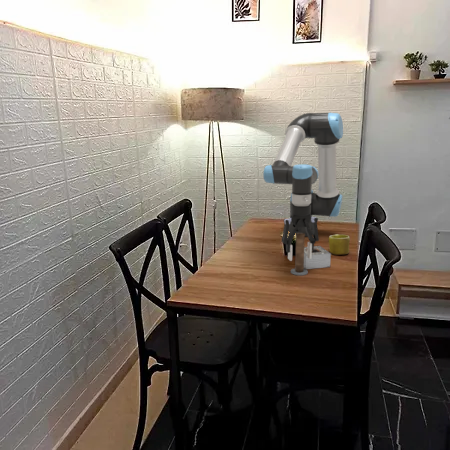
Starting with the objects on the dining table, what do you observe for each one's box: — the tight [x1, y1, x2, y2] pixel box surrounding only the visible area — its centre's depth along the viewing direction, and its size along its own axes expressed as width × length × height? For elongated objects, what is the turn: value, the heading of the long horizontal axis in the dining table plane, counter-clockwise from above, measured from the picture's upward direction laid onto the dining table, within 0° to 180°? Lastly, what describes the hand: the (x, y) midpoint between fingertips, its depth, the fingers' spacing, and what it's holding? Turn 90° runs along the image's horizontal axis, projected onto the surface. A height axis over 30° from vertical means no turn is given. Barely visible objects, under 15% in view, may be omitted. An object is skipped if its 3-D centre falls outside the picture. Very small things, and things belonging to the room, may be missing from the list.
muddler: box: [294, 233, 306, 273], centre depth 178 cm, size 3×3×16 cm
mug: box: [328, 233, 351, 256], centre depth 203 cm, size 12×10×10 cm
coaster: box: [290, 267, 309, 277], centre depth 180 cm, size 7×7×1 cm
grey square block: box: [304, 245, 332, 270], centre depth 189 cm, size 11×11×6 cm
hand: (299, 258), depth 179 cm, fingers open, 8 cm apart
